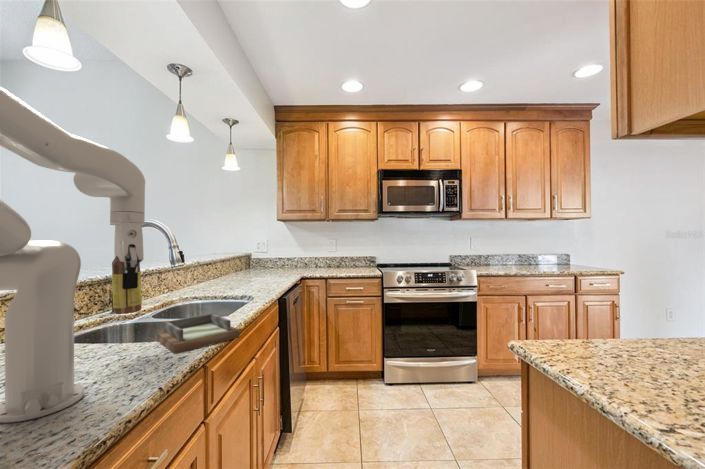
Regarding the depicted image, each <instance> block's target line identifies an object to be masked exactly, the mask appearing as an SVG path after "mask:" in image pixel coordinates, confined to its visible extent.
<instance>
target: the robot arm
mask: <svg viewBox="0 0 705 469" xmlns="http://www.w3.org/2000/svg"><path fill="white" fill-rule="evenodd" d="M0 147H2V148H4V149H6V150H7V151H10V152H12V153H14V154H16V155H17V156H20V157H21V158H23V159H25V160H27V161H28V162H29V163H31V164H34V165H36V166H38V167H41V168H45V169H50V170H52V171H53V170H54V171H58V172H65V173H74V174H73V184H74V186H75V188H76V189H77V190H78V192H81V194H84V195H86V196H89V197H94V198H108V199H110V200H109V203H110V204H109V208H110V209H109V225H110V226H114V246H113V247H114V248H113V249H114V250H113V251H114V258H115V257H116V256H118V258H119V261H120V262H122V263H123V265H124V273H123V277H122V288H123V289H134V288H137V287H138V273H137V272H138V268H137V258H138V260H139V261H138V262H140V263H142V262H143V261H144V257H145V256H144V236H143V226H146V225H145V219H146V218H145V215H146V214H145V213H146V212H145V204H146V202H145V201H146V200H145V198H146V179H145V175H144V174H143V172H142V170H140V168H139V167H138V166H137V165H136V164H135V163H134V162H132V161H131V160H130V159H128V158H127V157H125V155H123V154H121V153H120V152H118V151H115V150H114V149H111V148H109V147H107V146H105V145H102V144H99V143H96V142H94V141H91V140H89V139H86V138H84V137H81V136H77V135H76V134H72V133H69V132H68V131H66V130H64V129H62V128H61V127H60V126H58V125H57V124H56V123H54V122H53V121H51V120H50V119H49V118H47V117H45V116H44V115H42V114H41V112H38V111H37V110H36V109H34V108H33V107H32V106H30V105H28V104H27V103H26V102H25V101H24V100H21V99H20V98H19V97H17V96H15V95H14V94H13V93H11V92H9V91H8V90H7V89H5V88H3V87H1V86H0ZM31 238H32V230H31V227H30V224H28V221H27V220H26V219H25V218H24V217H23V216H21V214H20V213H18V212H17V211H16V210H15V209H13V208H12V207H11V206H10V205H8V204H7V203H6V202H4V200H2V199H1V198H0V291H16V293H15V295H14V296H13V298H12V299H11V301H10V303H9V305H8V306H7V308H6V312H5V316H4V401H3V402H1V403H0V423H5V424H6V423H17V422H23V421H29V420H33V419H38V418H41V417H45V416H48V415H51V414H54V413H56V412H59V411H61V410H63V409H66V408H68V407H70V406H72V405H74V404H75V403H77V402H78V401H79V400H81V399H82V398H83V397H84V396H85V387H84V386H83V385H81V384H78V383H75V296H76V295H75V294H76V288H77V283H78V279H79V276H80V272H81V266H82V265H81V264H82V260H81V257H80V254H79V252H78V250H76V249H75V248H74V247H73V246H72V245H70V244H67V243H65V242H62V241H58V240H51V239H49V240H48V239H31ZM128 252H129V253H128ZM126 260H130V261H126Z"/></svg>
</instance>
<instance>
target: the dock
mask: <svg viewBox="0 0 705 469" xmlns="http://www.w3.org/2000/svg"><path fill="white" fill-rule="evenodd" d="M163 324H164V325H163V326H164V327H163V328H164V331H161V332H157V333H156V334H157V335H156V339H157V340H156V341H157V342H158V343H159V342H160V343H159V344H160V345H162V346H163V347H164V348H166V349H167V350H168V351H170V352H171V353H173V354H174V355H175V354H179V353H182V352H187V351H190V350H194V349H198V348H202V347H203V348H204V347H207V346H210V345H216V344H219V343H224V342H227V341H231V340H234V339H235V340H236V339H239V338H240V329H238V328H236V327H234V326H231V319H228V318H225V317H222V316H220V315H218V314H215V313H208V314H203V315H196V316H191V317H186V318H185V317H184V318H181V319H179V318H178V319H174V320H168V321H164V323H163Z"/></svg>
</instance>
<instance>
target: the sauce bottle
mask: <svg viewBox="0 0 705 469" xmlns="http://www.w3.org/2000/svg"><path fill="white" fill-rule="evenodd" d="M128 253H129V252H128ZM126 261H130V260H126ZM138 261H139V260H138V258H137V268H138V272H137V273H138V287H137V288H134V289H123V288H122V277H123V273H124V265H123V263H122V262H120V261H119V258H118V256H116V257H115V256H114V259H113V260H112V262H111V270H112V273H111V284H112V285H111V286H112V309H113V313H115V314H117V315H124V314H125V315H126V314H133V313H137V312H140V311H141V310H142V303H143V300H142V299H143V298H142V296H143V295H142V274H141V272H142V271H141V268H140V267H141V266H140V265H141V262H138Z"/></svg>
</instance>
